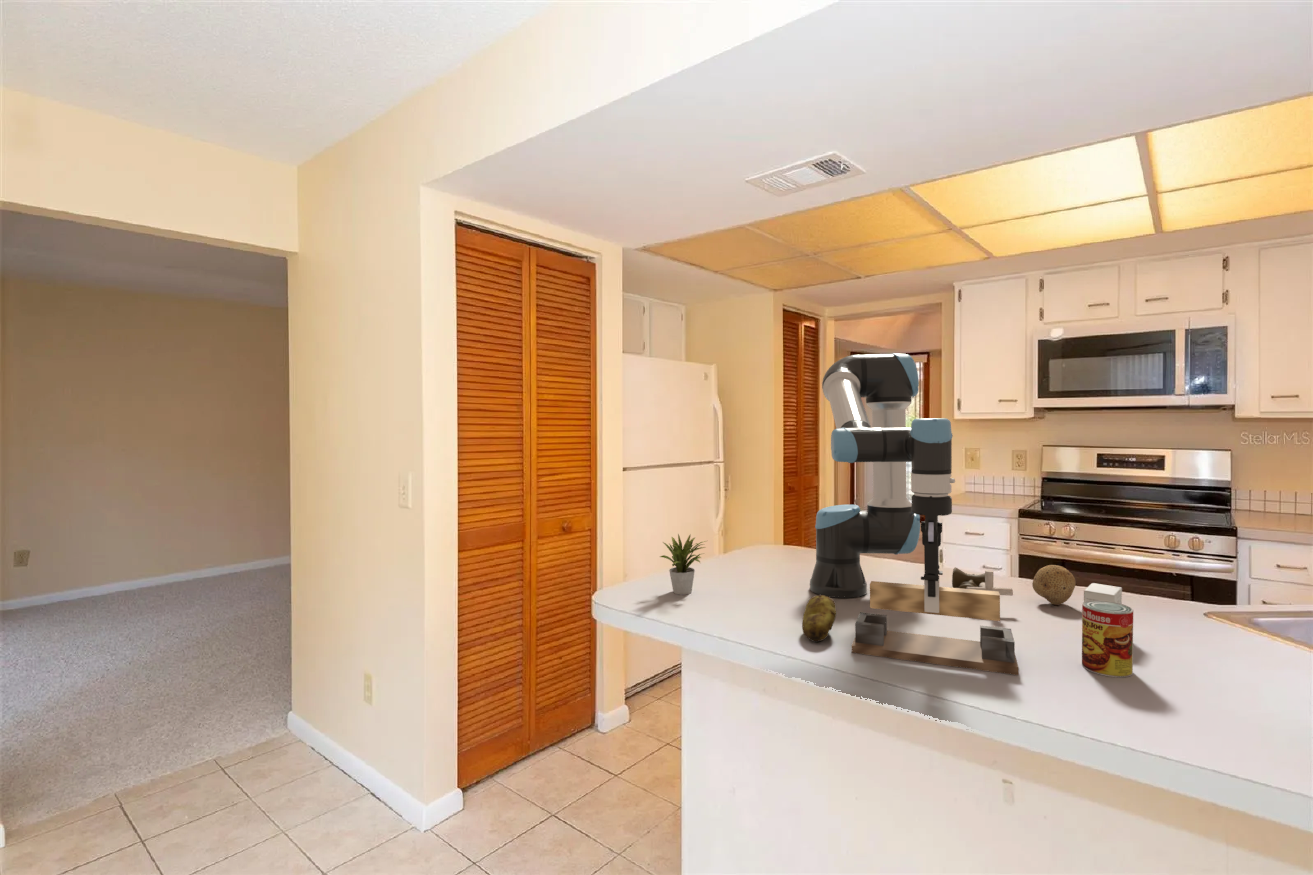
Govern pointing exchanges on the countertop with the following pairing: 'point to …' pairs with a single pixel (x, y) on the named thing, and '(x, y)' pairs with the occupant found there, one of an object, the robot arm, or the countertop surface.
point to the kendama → (966, 579)
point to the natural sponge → (1054, 584)
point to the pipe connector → (991, 585)
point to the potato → (818, 617)
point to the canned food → (1107, 638)
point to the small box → (1103, 593)
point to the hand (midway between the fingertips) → (932, 609)
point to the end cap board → (937, 646)
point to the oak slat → (950, 600)
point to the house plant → (682, 565)
